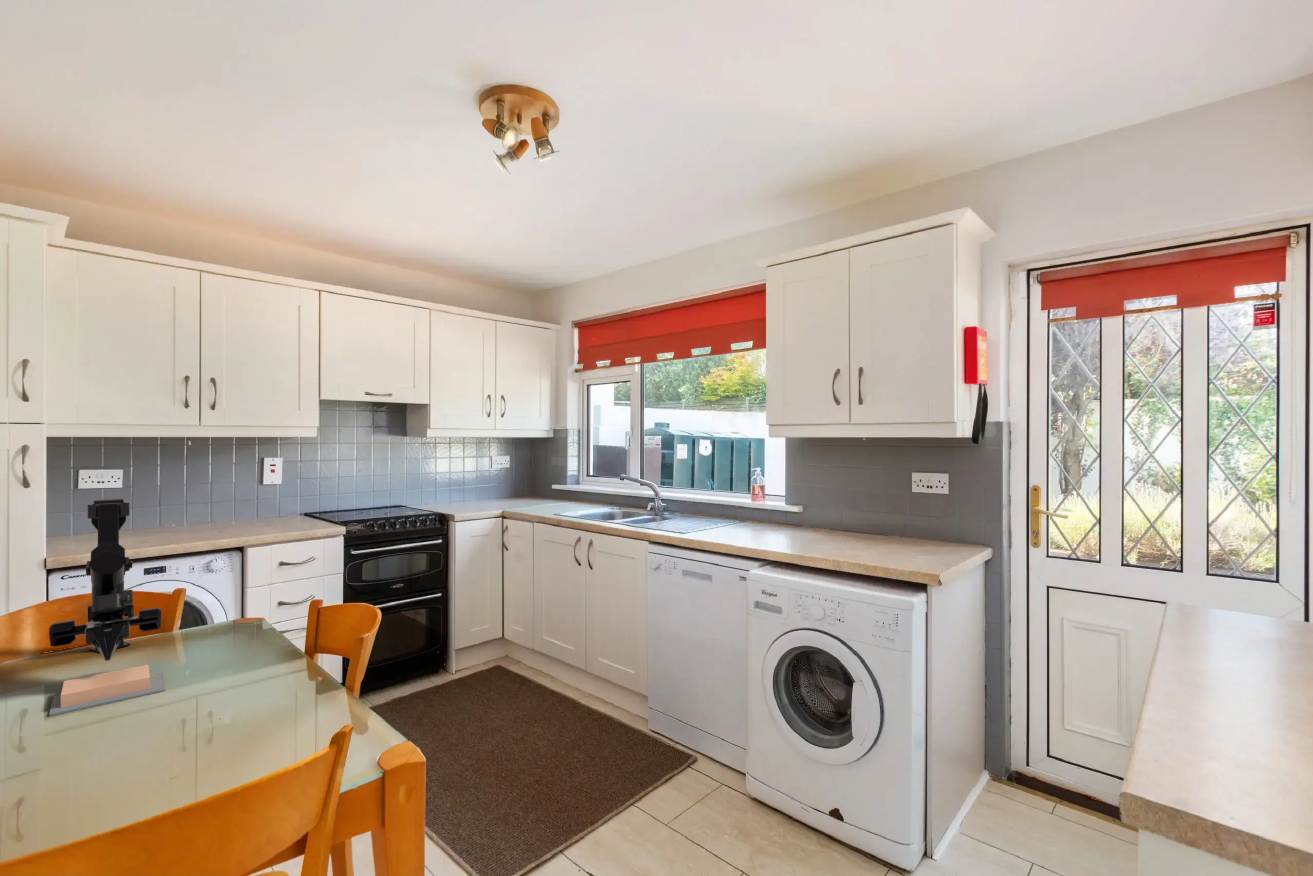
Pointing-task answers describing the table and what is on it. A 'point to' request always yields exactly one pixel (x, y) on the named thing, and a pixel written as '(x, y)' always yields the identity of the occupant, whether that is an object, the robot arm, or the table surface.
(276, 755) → the table surface
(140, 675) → the terracotta tile
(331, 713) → the table surface
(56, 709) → the mat
